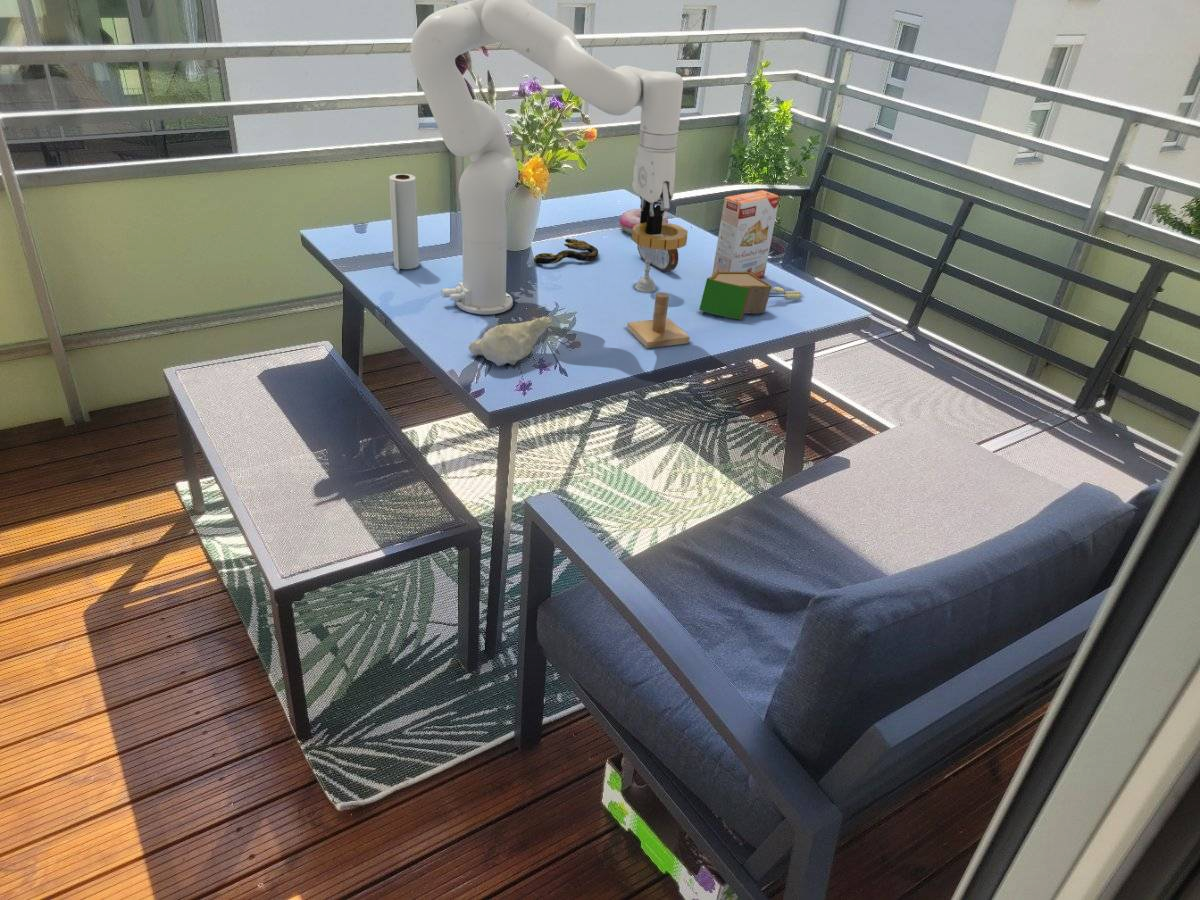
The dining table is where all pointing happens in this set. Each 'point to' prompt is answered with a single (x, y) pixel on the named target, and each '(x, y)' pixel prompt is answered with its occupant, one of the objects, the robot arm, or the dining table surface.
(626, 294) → the dining table surface
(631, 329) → the stand
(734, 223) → the cracker box
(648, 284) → the chalice
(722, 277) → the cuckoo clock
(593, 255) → the toy snake
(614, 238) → the dining table surface
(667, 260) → the tin
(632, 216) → the donut
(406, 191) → the paper towel roll
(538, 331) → the conch shell
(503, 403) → the dining table surface
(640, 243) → the ring
